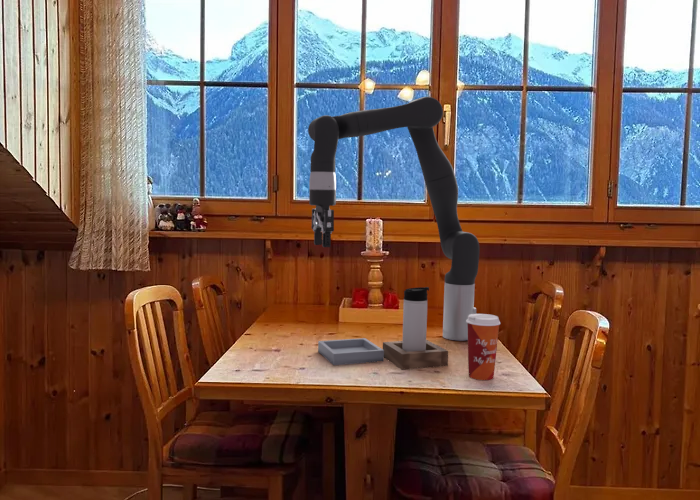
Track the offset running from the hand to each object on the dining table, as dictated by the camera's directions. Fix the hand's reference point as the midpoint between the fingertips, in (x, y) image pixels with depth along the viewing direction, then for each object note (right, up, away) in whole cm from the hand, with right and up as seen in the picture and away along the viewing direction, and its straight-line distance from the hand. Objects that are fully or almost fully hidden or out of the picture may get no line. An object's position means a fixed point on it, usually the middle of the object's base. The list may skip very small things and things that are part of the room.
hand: (322, 245), depth 169 cm
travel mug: (+25, -31, -10) cm, 41 cm away
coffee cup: (+40, -33, -23) cm, 56 cm away
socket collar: (+25, -31, -10) cm, 41 cm away
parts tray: (+8, -30, -7) cm, 32 cm away
